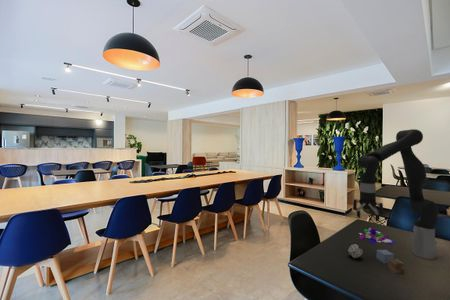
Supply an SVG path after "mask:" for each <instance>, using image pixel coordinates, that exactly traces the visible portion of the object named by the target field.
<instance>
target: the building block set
mask: <svg viewBox="0 0 450 300" xmlns="http://www.w3.org/2000/svg"><path fill="white" fill-rule="evenodd" d="M380 233H381V234H380ZM359 234H360V235H359ZM358 235H359V236H358V238H359V239H360V240H363V238H364V239H367V238H368V239H370V240H368V243H372V244H376V242H377V243H380V244H381V243H385V244H387V245H393V244H395V242H396V241H395V240H393V239H388V237H387V236H388V235H387V234H385V233H382V232H381V231H377V229H376V228H373V227H369V228H368V229H364V230H363V233H361V232H359V233H358ZM361 235H362V236H361ZM373 236H374V237H373ZM383 239H384V240H383ZM378 240H379V241H378Z"/></svg>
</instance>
